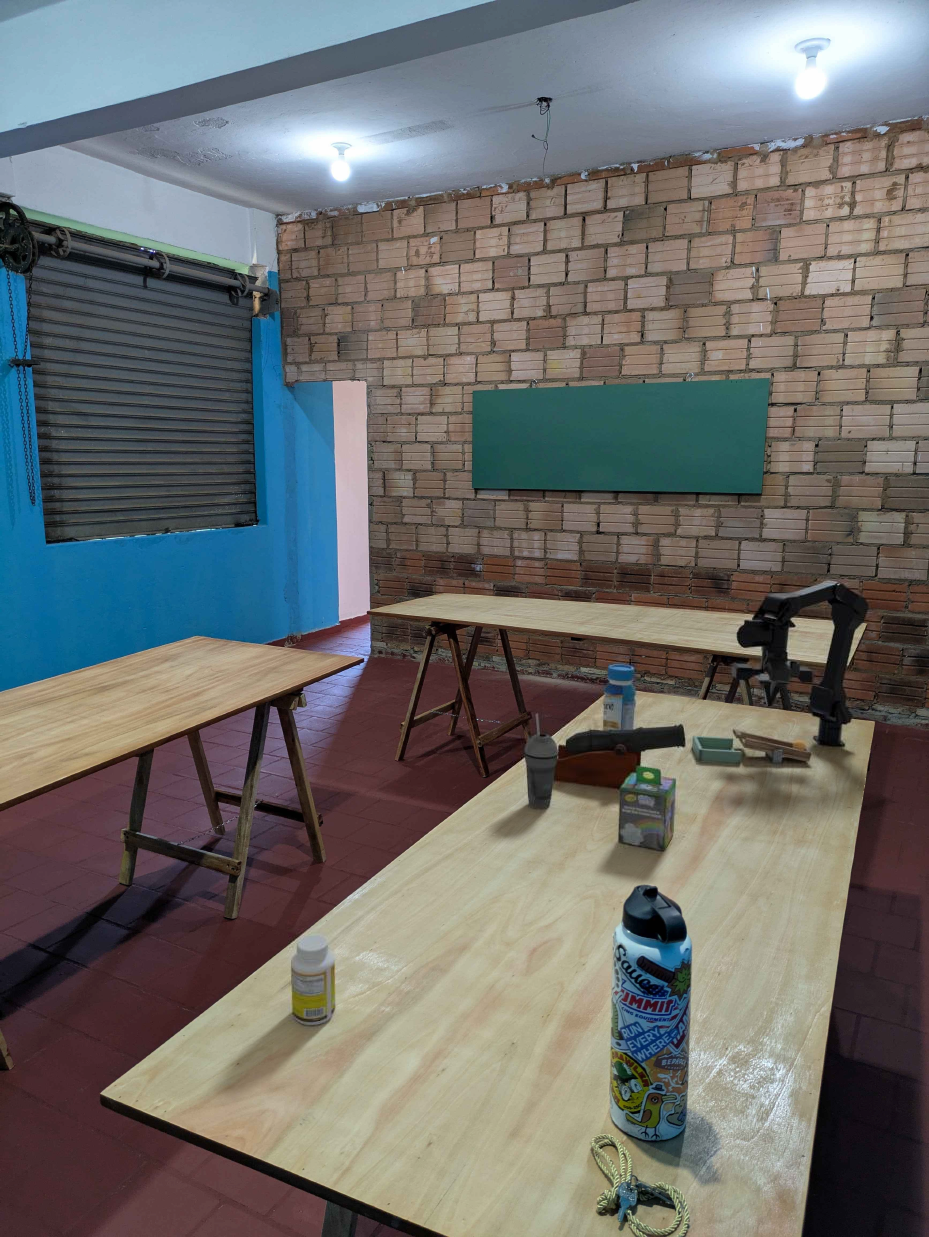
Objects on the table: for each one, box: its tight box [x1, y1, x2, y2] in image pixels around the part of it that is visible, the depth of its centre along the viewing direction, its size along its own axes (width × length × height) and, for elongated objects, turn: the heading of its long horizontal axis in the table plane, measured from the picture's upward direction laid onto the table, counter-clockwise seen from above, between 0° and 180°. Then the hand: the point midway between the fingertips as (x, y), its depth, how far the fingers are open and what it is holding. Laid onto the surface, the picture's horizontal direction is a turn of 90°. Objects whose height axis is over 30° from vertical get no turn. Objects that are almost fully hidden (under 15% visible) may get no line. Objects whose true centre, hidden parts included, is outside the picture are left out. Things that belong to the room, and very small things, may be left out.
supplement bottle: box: [290, 933, 336, 1026], centre depth 110 cm, size 6×6×10 cm
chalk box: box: [617, 765, 677, 852], centre depth 163 cm, size 9×9×15 cm
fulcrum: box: [764, 749, 783, 765], centre depth 211 cm, size 8×2×4 cm, turn 173°
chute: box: [732, 728, 812, 763], centre depth 214 cm, size 12×16×2 cm
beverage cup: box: [523, 713, 558, 810], centre depth 178 cm, size 7×7×20 cm
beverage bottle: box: [602, 663, 637, 731], centre depth 221 cm, size 8×8×20 cm
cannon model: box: [553, 723, 687, 791], centre depth 193 cm, size 13×30×15 cm, turn 72°
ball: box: [792, 740, 807, 751], centre depth 210 cm, size 3×3×3 cm
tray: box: [691, 735, 742, 765], centre depth 213 cm, size 11×10×3 cm
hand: (768, 706), depth 213 cm, fingers closed
